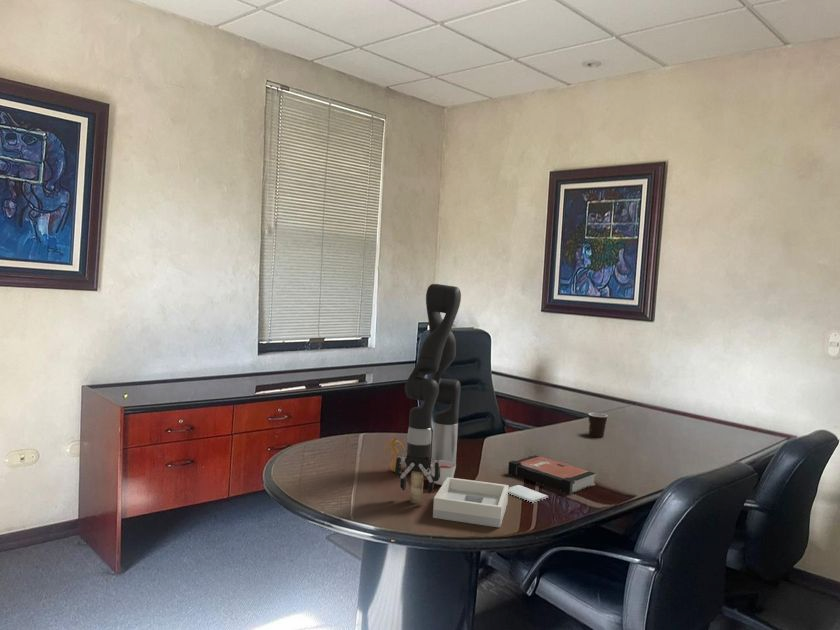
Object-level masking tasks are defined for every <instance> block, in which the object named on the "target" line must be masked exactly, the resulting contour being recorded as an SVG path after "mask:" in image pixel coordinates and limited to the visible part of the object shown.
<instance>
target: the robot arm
mask: <svg viewBox="0 0 840 630" xmlns="http://www.w3.org/2000/svg"><path fill="white" fill-rule="evenodd" d="M461 298H462V293H461V289H460V288H459V287H458V286H453V285H445V284H439V283H431V284H430V285H429V286H428V287H427V289H426V294H425V305H426V314H427V319H428V327H429V328H428V332H429V335H428V336H427V337H426V338H425V339H424V341H423V343H422V345H421V348H420V351H419V355H418V359H417V362H416V365H414V368H413V370H412V372H411V373H410V375H409V377H408V378H407V380H406V382H405V385H404V392H405V395H406V397H407V398H408V399H411V400H416V401H421V402H422V401H423V405H421V406H415V407H412V408H411V409H410V410H409V417H408V419H409V420H408V430H407V437H406V456H405V457H404V456H402V455H398V456H397V459H396V458H395V461H396V468H395V472H394V476H395V477H399V479H400V489H401V490H402V491H405V490H406V488H407V475H408V473H410V472H411V471H417V472H422V473H424V477H426V478H427V480H428V482H427V483H428V485H427V494H429V495H430V494H431V493H433V491H434V487H435V483H434V481H438V480H439V479H440V461H439V460H444V461H450V462H453V463H455V464H456V465H457V448H458V447H457V446H458V445H457V444H458V432H459V431H458V428H459V410H460V408H459V407H460V399H461V393H462V392H461V389H462V388H461V382H460V380H458V379H449V378H442V375H443V374H444V372H445V371H446V370H447V369H448V368H449V367H450V365H451V364H453V362H454V360H455V358H456V356H457V340H456V338H455V335H454V333H453V332H452V328H453V326H454V323H455V320H456V317H457V314H458V311H459V308H460V305H461V301H462V299H461ZM441 313H442V314H445V315H444V317H442V314H441ZM427 375H430V376H431V377H430V378H425V376H427ZM435 404H440V405H442V404H443V405H449V406H450V407H448V408H447V409H445V410H441V411H437V412H435V413H434V414H433V412H434V407H435ZM432 416H433V417H432ZM432 418H433V421H432ZM404 463H405V464H406V466H407V468H406V469H404V471H403V472H402V465H403V464H404ZM430 465H432V466H433V468H435V476H433V475H432V473H431V468H430Z"/></svg>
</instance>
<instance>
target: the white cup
mask: <svg viewBox="0 0 840 630" xmlns="http://www.w3.org/2000/svg"><path fill="white" fill-rule="evenodd" d="M439 461H440V479H439V480H438V481H434V485H438V486H442V485H443V483H444V482H445V480H446V479H447V477H450V478H454V475H455V473H456V472H455V471H456V469H457V468H456V467H457V463H456V464H455V463H453V462H450V461H444V460H439ZM429 468H430V470H431V473H432V475H433V476H435V468H433V466H432V465H430V466H429Z"/></svg>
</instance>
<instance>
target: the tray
mask: <svg viewBox="0 0 840 630" xmlns="http://www.w3.org/2000/svg"><path fill="white" fill-rule="evenodd" d="M508 488H509V485H508V484H504V483H503V484H501V483H494V482H487V481H480V480H472V479H464V478H457V477H456V478H455V477H453V478H450V477H447V479H446V480H445V482H444V483H443V485H440V487H439V490H438V491H437V492H436V494H435V496H434V497H433V509H432V518H433V519H440V520H446V521H454V522H458V523H459V522H461V523H466V524H473V525H481V526H487V527H493V528H494V527H495V528H501V526H502V522H503V519H504V516H505V513H506V509H507V507H508V503H509V502H508V501H509V494H508ZM506 506H507V507H506Z"/></svg>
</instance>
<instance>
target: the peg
mask: <svg viewBox="0 0 840 630" xmlns="http://www.w3.org/2000/svg"><path fill="white" fill-rule="evenodd" d="M424 477H425V475H424V473H422V472H417V471H410V492H409V502H410V503H412V504H415V505H416V504H421V503H423V495H424V480H425V479H424Z"/></svg>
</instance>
